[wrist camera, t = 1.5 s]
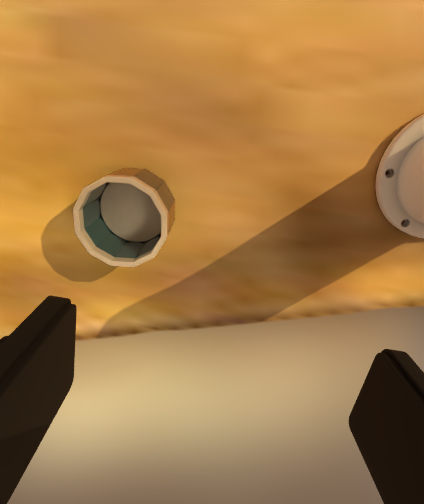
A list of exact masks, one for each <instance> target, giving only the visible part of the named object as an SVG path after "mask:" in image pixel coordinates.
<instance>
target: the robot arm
mask: <svg viewBox="0 0 424 504" xmlns="http://www.w3.org/2000/svg"><path fill="white" fill-rule="evenodd" d="M386 171H388V172H387V174H386V175H385V172H386ZM376 196H377V201H378V204H379V207H380V209H381V211H382V213H383V214H384V216H385V218H386V219H387V220H388V221H389V222H390V223H391V224H392V225H393V226H395V227H396V228H398V229H399V230H401V231H403V232H405V233H407V234H409V235H411V236H415V237H419V238H424V114H422V115H421V116H419V117H417V118H415V119H414V120H413V121H411V122H410V123H409V124H407V125H406V126H405V127H404V128H403V129H402V130H401V131H400V132H399V133H398V134H397V135H396V136H395V137H394V138H393V140H392V141H391V143H390V144H389V146H388V147H387V149H386V150H385V152H384V155H383V157H382V159H381V161H380V164H379V168H378V171H377V175H376ZM402 221H403V222H402ZM401 222H402V223H401ZM75 332H76V305H75V304H71V301H70V299H68V298H62V297H56V296H48V297H47V298H46V299H45V300H44V301H43V302H42V303H41V304H40V305H39V306H38V307H37V308H36V309H35V310H34V311H33V312H32V313H31V314H30V315H29V316H28V317H27V318H26V319H25V320H24V321H23V322H22V323H21V324H20V325H19V326H18V327H17V328H16V329H15V330H14V331H13V332H12V333H11V334H10V335H9V336H5V337H3V338H2V339H0V504H7V502H8V501H9V499H10V497H11V495H12V494H13V492H14V490H15V488H16V486H17V485H18V483H19V481H20V479H21V477H22V475H23V473H24V472H25V470H26V468H27V466H28V464H29V463H30V461H31V459H32V457H33V455H34V453H35V452H36V450H37V448H38V446H39V444H40V442H41V441H42V439H43V437H44V435H45V433H46V432H47V430H48V428H49V426H50V424H51V423H52V421H53V419H54V417H55V415H56V414H57V412H58V410H59V408H60V406H61V404H62V403H63V401H64V399H65V397H66V395H67V394H68V392H69V390H70V388H71V385H72V382H73V377H74V357H75ZM349 427H350V429H351V432H352V434H353V436H354V439H355V441H356V443H357V445H358V447H359V450H360V452H361V454H362V456H363V458H364V460H365V463H366V465H367V467H368V469H369V471H370V474H371V476H372V478H373V480H374V482H375V485H376V487H377V489H378V491H379V494H380V496H381V498H382V500H383V502H384V504H424V372H423V371H422V370H421V369H420V368H419V367H418V365H416V363H415V362H414V361H413V360H412V359H411V357H410V356H409V355H408V354H407V353H405V352H403V351H396V350H390V349H384V350H383V351H382V352H381V353H378V354H377V355H376V356H375V359H374V361H373V363H372V366H371V368H370V370H369V373H368V375H367V377H366V379H365V382H364V384H363V386H362V388H361V391H360V393H359V396H358V398H357V400H356V403H355V405H354V407H353V409H352V412H351V414H350V416H349Z"/></svg>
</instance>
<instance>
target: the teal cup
mask: <svg viewBox="0 0 424 504" xmlns="http://www.w3.org/2000/svg"><path fill="white" fill-rule="evenodd" d="M109 182H110V183H109ZM73 217H74V227H75V233H76V235H77V237H78V238H79V240H80V241H81V243H82V244H83V246H84V247H85V249H86V250H87V251H88V253H90V255H92V256H94V257H96V258H97V259H99V260H101V261H103V262H105V263H106V264H108V265H111V266H123V267H136V266H138V265H140V264H142V263H144V262H146V261H148V260H150V259H152V258H154V257H155V256H156V254H157V253H158V251H159V250H160V248H161V247H162V245H163V243H164V242H165V240H166V239H167V236H168V234H169V232H170V230H171V227H172V225H173V223H174V220H175V199H174V197H173V196H172V194H171V192H170V190H169V188H168V187H167V185H166V183H165V181H164V180H162V179H160V178H159V177H157V176H156V175H154V174H153V173H151V172H150V171H148V170H145V169H136V168H122V169H120V170H118V171H116V172H113V173H111V174H109V175H106V176H104V177H102V178H101V179H99V180H97V181H95V182H93V183H91V184H90V185H88V186H86V187H84V188H83V190H82V192H81V194H80V196H79V198H78V200H77V202H76V204H75V206H74V208H73ZM160 233H161V234H160ZM158 234H159V235H158Z"/></svg>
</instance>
